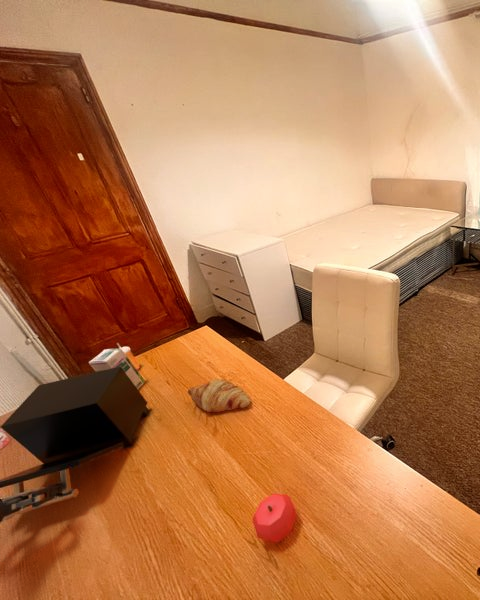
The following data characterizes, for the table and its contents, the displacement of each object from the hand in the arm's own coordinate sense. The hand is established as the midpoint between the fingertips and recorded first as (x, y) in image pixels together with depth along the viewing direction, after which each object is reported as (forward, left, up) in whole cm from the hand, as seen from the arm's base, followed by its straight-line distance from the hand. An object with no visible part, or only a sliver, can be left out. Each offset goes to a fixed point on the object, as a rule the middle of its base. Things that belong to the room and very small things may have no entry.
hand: (42, 492), depth 64 cm
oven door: (-5, +8, -6) cm, 11 cm away
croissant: (+15, +32, -7) cm, 36 cm away
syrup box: (-19, +32, -7) cm, 38 cm away
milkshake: (-27, +40, -7) cm, 49 cm away
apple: (+50, +6, -7) cm, 51 cm away
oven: (-9, +16, -7) cm, 20 cm away
